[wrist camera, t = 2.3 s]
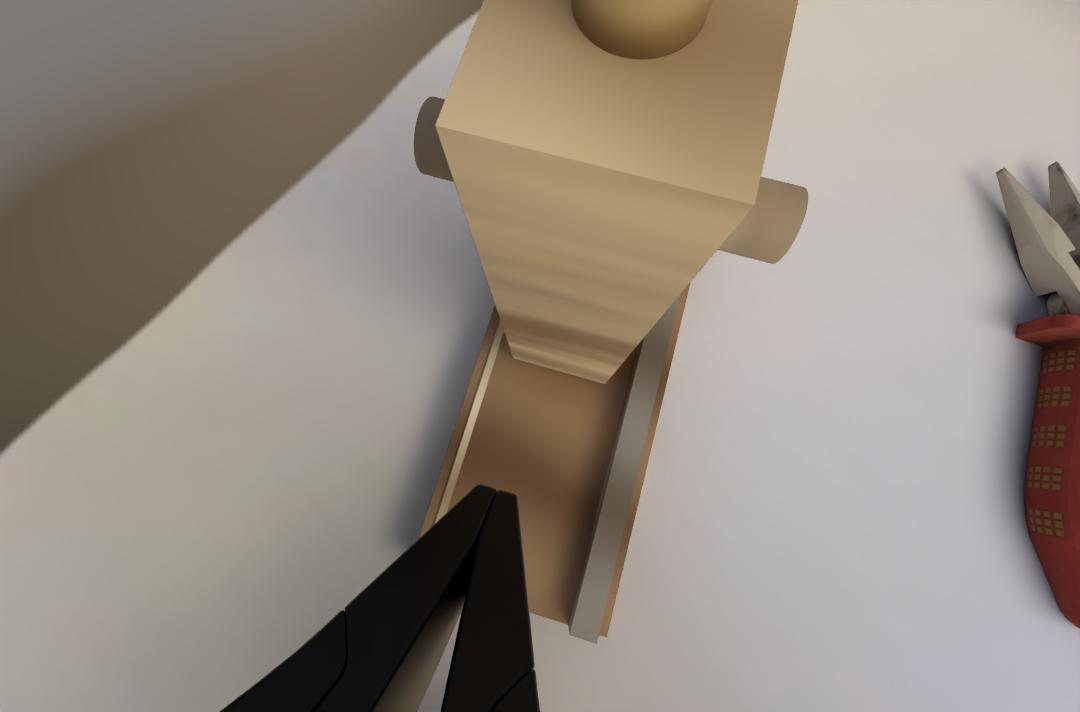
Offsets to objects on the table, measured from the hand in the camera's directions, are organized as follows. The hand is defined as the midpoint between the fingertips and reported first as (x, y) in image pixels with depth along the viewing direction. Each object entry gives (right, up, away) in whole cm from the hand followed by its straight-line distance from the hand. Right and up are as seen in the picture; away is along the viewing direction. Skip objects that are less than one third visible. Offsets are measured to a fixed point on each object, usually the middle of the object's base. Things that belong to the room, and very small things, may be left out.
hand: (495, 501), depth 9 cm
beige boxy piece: (+2, +5, +10) cm, 12 cm away
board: (+3, +3, +12) cm, 12 cm away
